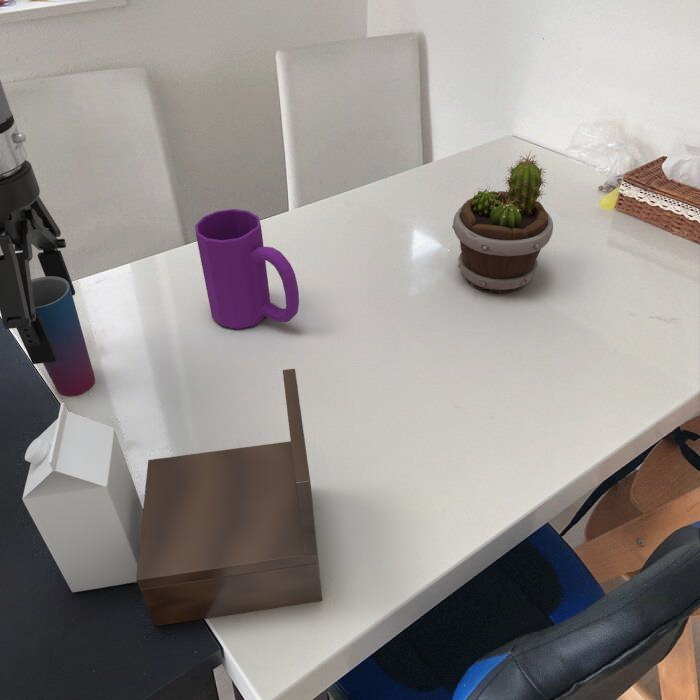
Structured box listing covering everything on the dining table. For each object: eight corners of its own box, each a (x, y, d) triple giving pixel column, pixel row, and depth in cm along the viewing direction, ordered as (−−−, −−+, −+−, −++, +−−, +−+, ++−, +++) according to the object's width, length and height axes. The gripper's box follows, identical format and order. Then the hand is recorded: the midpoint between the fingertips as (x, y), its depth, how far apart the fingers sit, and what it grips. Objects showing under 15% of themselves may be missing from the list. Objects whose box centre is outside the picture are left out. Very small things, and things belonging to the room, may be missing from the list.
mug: (237, 288, 108) (223, 202, 98) (318, 317, 101) (312, 228, 92) (198, 319, 102) (179, 230, 92) (282, 352, 95) (271, 261, 86)
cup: (38, 388, 91) (-2, 296, 81) (80, 360, 95) (46, 270, 85) (71, 408, 88) (33, 315, 78) (112, 378, 92) (81, 286, 82)
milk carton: (149, 523, 73) (103, 396, 61) (145, 582, 68) (94, 455, 56) (81, 534, 73) (21, 408, 60) (72, 594, 67) (4, 468, 55)
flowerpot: (483, 314, 101) (498, 190, 88) (432, 264, 111) (439, 147, 99) (563, 289, 105) (589, 167, 92) (506, 243, 116) (522, 128, 103)
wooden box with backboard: (155, 626, 64) (106, 509, 53) (163, 507, 75) (124, 388, 64) (322, 600, 66) (310, 481, 54) (307, 487, 77) (294, 368, 65)
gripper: (0, 221, 62) (70, 389, 76) (50, 119, 81) (98, 268, 95) (-85, 230, 62) (0, 398, 75) (-15, 125, 81) (43, 274, 94)
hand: (55, 326), depth 85 cm, fingers open, 13 cm apart
